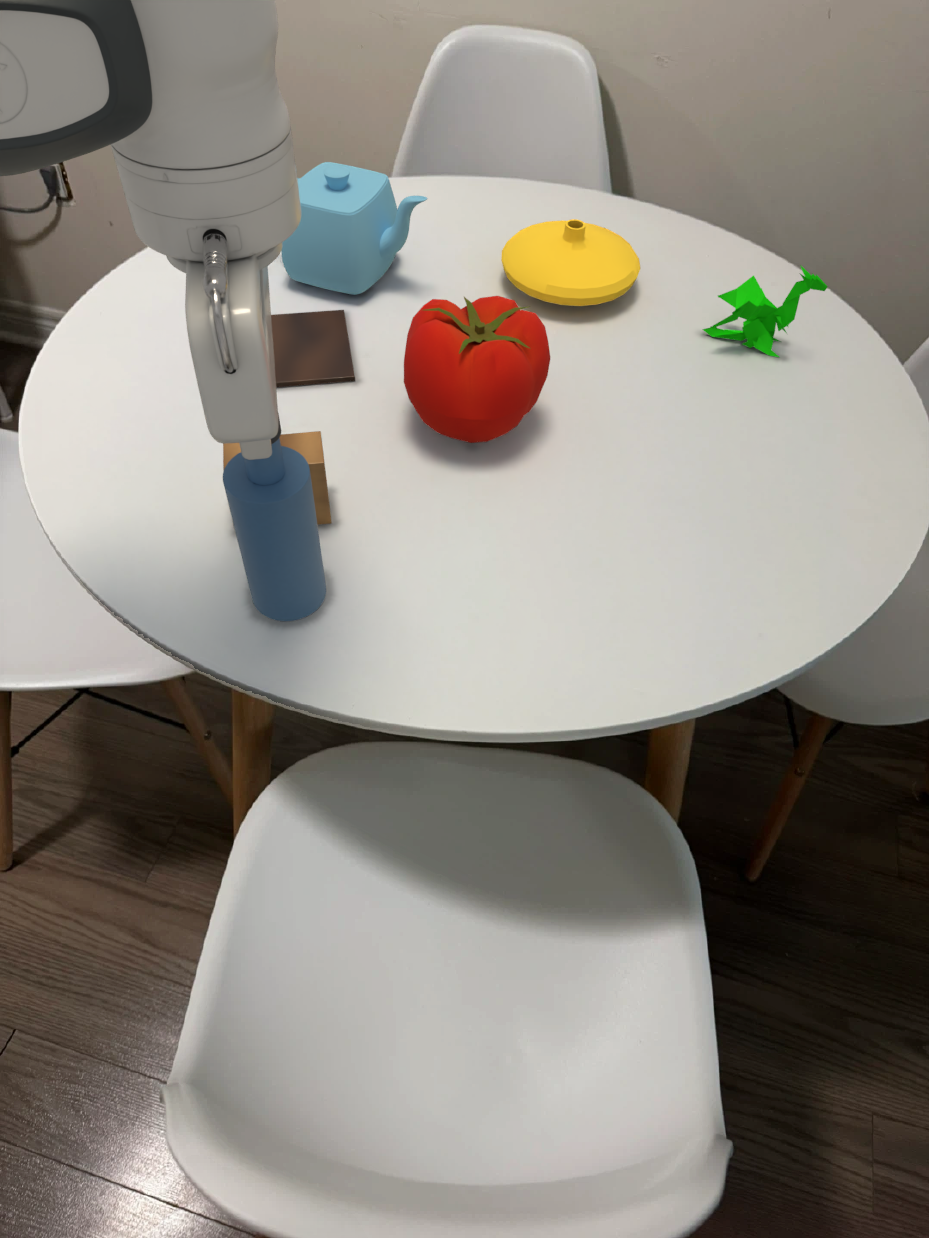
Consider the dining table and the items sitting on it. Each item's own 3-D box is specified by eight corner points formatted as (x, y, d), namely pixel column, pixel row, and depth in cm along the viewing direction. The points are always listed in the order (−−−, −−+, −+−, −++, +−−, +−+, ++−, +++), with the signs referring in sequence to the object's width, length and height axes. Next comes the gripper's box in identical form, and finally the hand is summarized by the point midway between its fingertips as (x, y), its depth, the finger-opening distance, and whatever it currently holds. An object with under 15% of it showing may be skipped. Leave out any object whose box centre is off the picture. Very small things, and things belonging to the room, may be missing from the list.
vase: (479, 259, 104) (482, 200, 99) (600, 240, 108) (609, 182, 102) (530, 333, 95) (536, 272, 89) (659, 310, 99) (673, 250, 93)
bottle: (257, 630, 72) (224, 592, 55) (241, 480, 74) (204, 396, 56) (330, 622, 73) (321, 581, 55) (313, 473, 75) (298, 388, 57)
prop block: (238, 533, 75) (223, 472, 70) (237, 500, 78) (222, 439, 72) (331, 523, 76) (324, 462, 71) (328, 492, 79) (320, 430, 73)
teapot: (406, 320, 96) (403, 217, 87) (259, 283, 99) (242, 180, 90) (447, 264, 103) (449, 164, 94) (309, 232, 107) (298, 133, 98)
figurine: (814, 368, 92) (829, 285, 85) (697, 362, 95) (701, 283, 88) (818, 335, 95) (832, 253, 89) (704, 331, 99) (710, 252, 92)
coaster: (234, 391, 87) (233, 386, 87) (232, 322, 94) (231, 317, 94) (355, 381, 89) (354, 376, 88) (344, 314, 96) (343, 309, 96)
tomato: (401, 461, 82) (397, 353, 72) (412, 368, 90) (410, 262, 81) (543, 468, 82) (558, 361, 72) (540, 375, 90) (553, 269, 81)
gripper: (283, 293, 40) (316, 511, 51) (266, 103, 52) (296, 311, 63) (140, 304, 39) (204, 523, 50) (157, 108, 51) (206, 317, 62)
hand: (255, 403), depth 57 cm, fingers open, 8 cm apart
